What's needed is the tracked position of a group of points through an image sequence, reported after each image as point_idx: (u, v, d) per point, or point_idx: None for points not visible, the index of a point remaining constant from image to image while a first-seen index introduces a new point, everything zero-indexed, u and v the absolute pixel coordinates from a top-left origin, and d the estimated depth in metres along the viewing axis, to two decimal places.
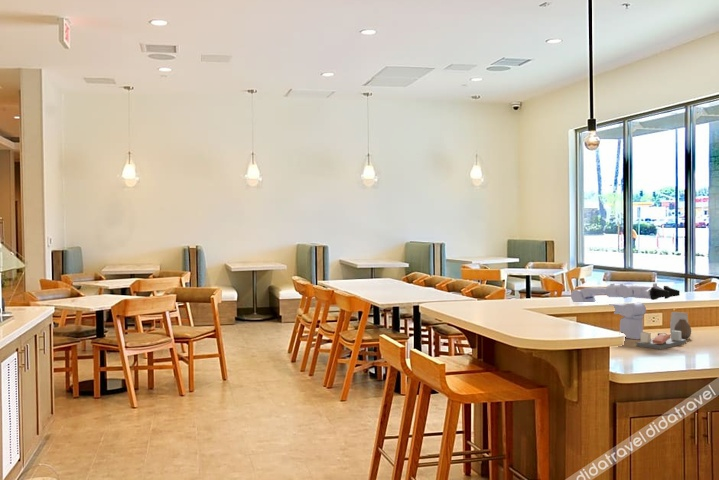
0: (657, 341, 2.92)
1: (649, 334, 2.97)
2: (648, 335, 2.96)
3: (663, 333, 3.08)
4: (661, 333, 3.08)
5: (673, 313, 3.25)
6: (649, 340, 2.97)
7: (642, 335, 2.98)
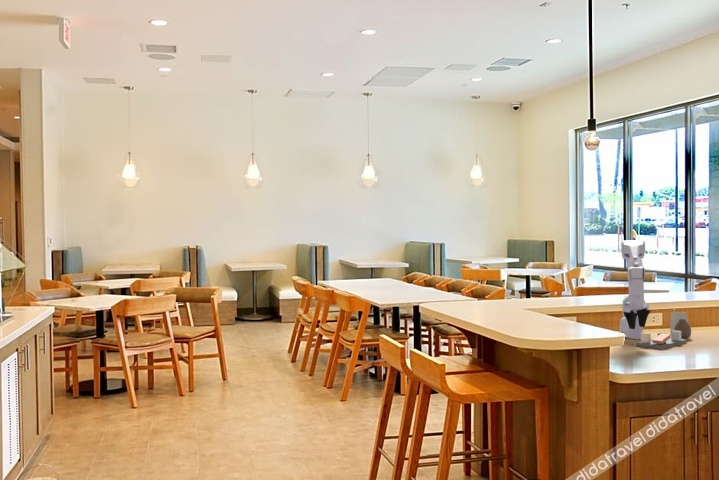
0: (657, 341, 2.92)
1: (649, 334, 2.97)
2: (648, 335, 2.96)
3: (663, 333, 3.08)
4: (661, 333, 3.08)
5: (673, 313, 3.25)
6: (649, 340, 2.97)
7: (642, 335, 2.98)
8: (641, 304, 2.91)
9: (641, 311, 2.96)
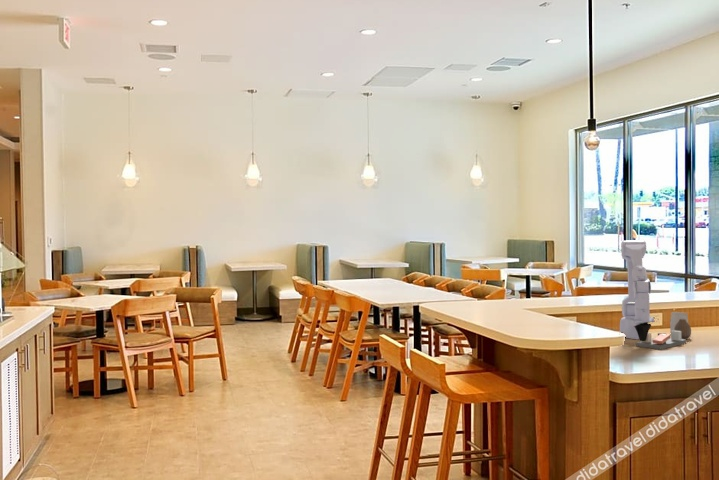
0: (657, 341, 2.92)
1: (650, 334, 2.97)
2: (649, 335, 2.97)
3: (663, 333, 3.08)
4: (661, 333, 3.08)
5: (673, 313, 3.25)
6: (650, 340, 2.97)
7: None
8: (647, 317, 2.94)
9: None
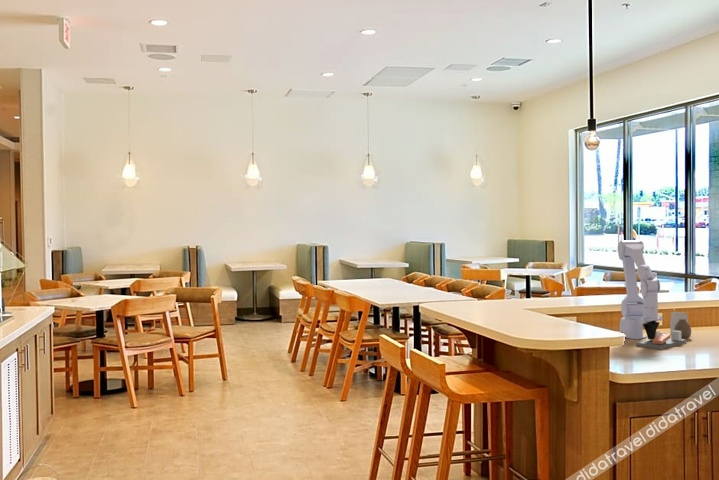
0: (657, 341, 2.92)
1: (658, 332, 3.01)
2: (657, 333, 3.00)
3: (663, 333, 3.08)
4: (661, 333, 3.08)
5: (673, 313, 3.25)
6: None
7: None
8: (655, 316, 2.97)
9: None
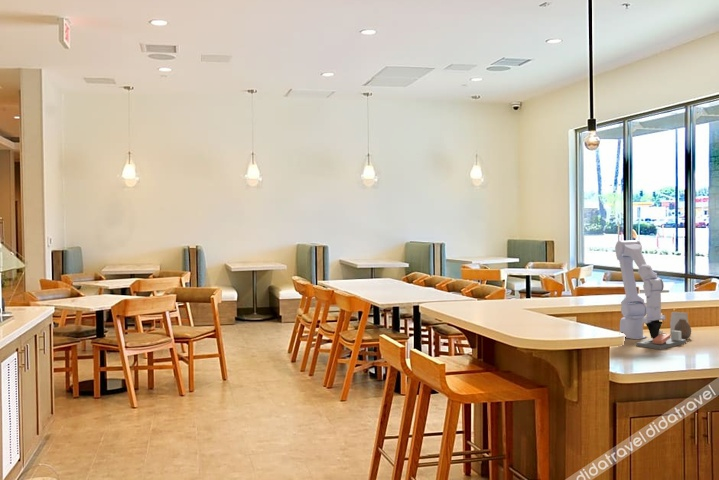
0: (657, 341, 2.92)
1: (661, 331, 3.02)
2: (660, 332, 3.02)
3: (663, 333, 3.08)
4: None
5: (673, 313, 3.25)
6: None
7: None
8: (658, 315, 2.99)
9: None
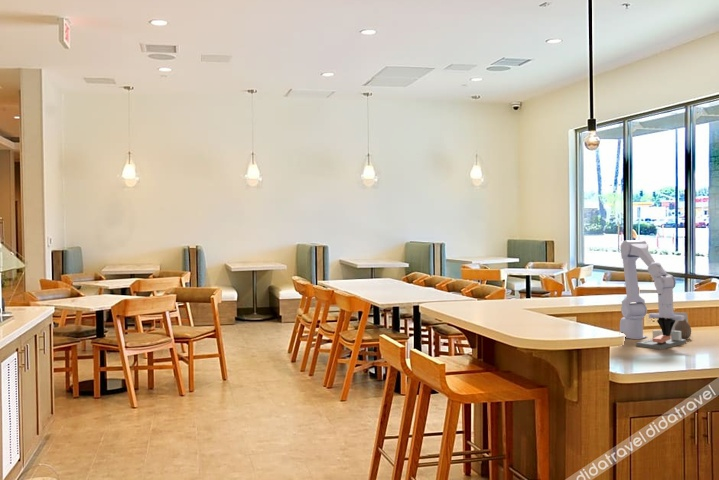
0: (657, 340, 2.92)
1: (661, 331, 3.02)
2: (660, 332, 3.02)
3: None
4: None
5: (673, 313, 3.25)
6: None
7: (654, 332, 3.03)
8: (660, 313, 2.95)
9: None
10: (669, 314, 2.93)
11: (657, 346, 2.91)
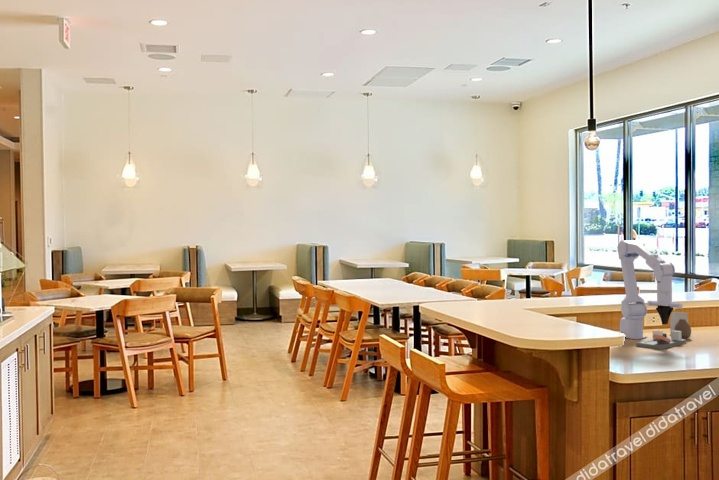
0: (658, 336, 2.92)
1: (661, 331, 3.02)
2: (660, 332, 3.02)
3: (663, 333, 3.08)
4: None
5: (673, 313, 3.25)
6: None
7: (654, 332, 3.03)
8: (659, 300, 2.94)
9: None
10: (667, 302, 2.93)
11: (657, 346, 2.91)
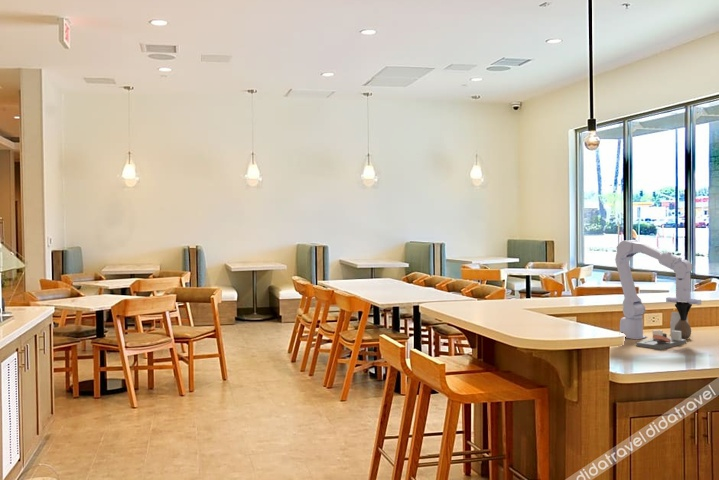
0: (658, 336, 2.92)
1: (661, 331, 3.02)
2: (660, 332, 3.02)
3: (663, 333, 3.08)
4: None
5: (673, 313, 3.25)
6: None
7: (654, 332, 3.03)
8: (678, 297, 3.00)
9: None
10: (686, 298, 2.98)
11: (657, 346, 2.91)
